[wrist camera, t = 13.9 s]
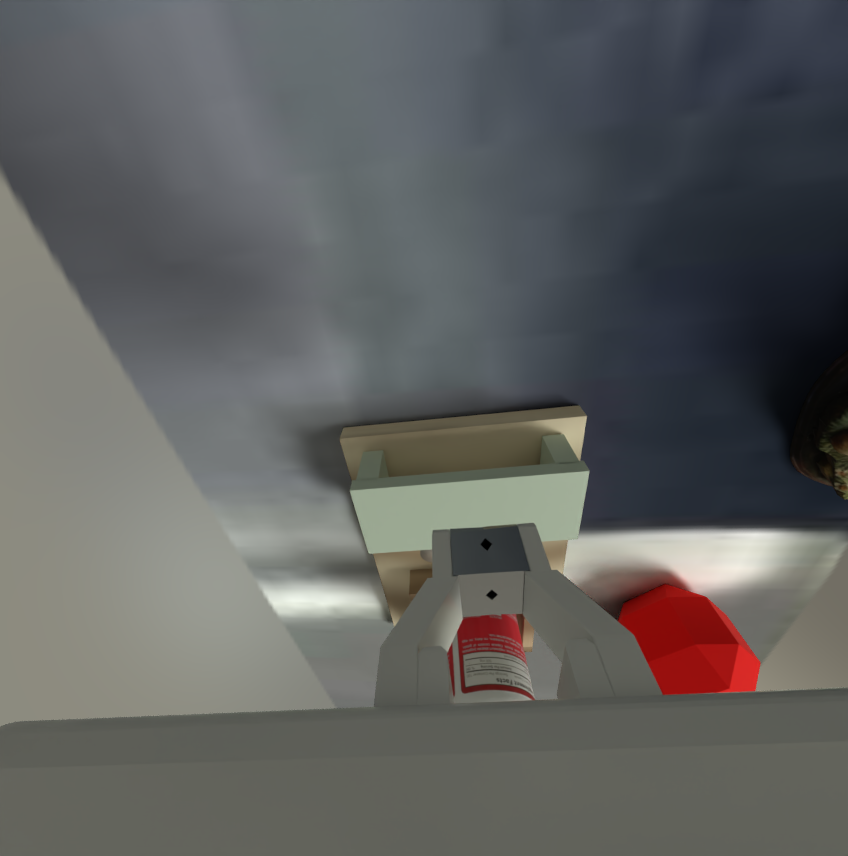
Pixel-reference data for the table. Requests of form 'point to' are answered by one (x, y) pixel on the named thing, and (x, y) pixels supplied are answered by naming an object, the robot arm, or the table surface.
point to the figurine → (825, 430)
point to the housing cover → (470, 499)
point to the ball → (689, 643)
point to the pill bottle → (489, 661)
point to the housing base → (450, 452)
